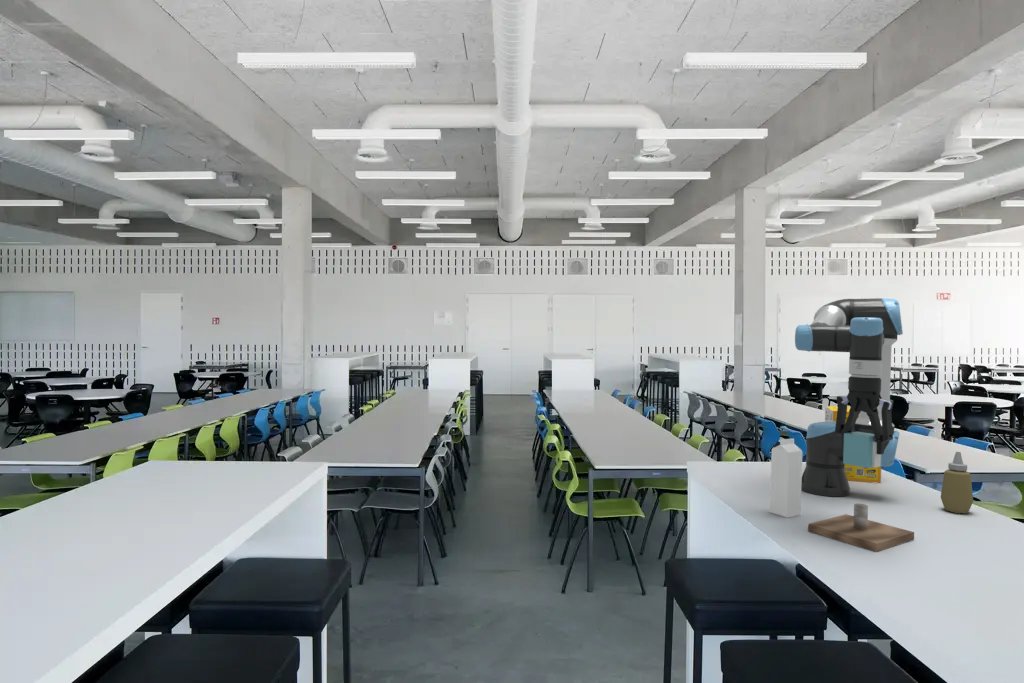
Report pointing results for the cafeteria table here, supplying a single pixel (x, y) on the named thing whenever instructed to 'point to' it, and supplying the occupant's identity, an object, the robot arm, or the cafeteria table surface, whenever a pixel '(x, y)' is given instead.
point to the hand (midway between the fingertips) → (862, 463)
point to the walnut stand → (861, 530)
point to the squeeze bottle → (957, 487)
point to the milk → (786, 479)
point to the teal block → (858, 449)
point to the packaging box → (853, 471)
